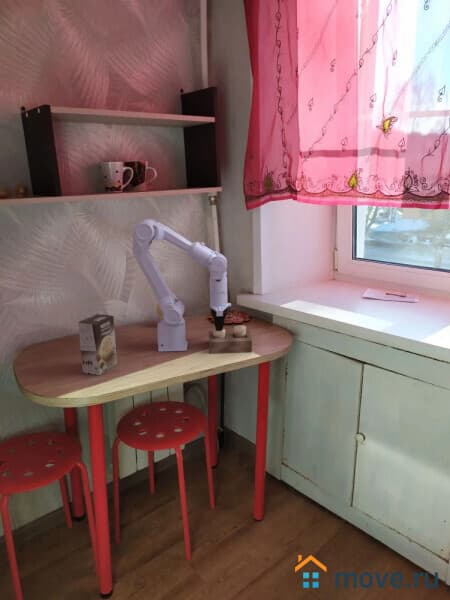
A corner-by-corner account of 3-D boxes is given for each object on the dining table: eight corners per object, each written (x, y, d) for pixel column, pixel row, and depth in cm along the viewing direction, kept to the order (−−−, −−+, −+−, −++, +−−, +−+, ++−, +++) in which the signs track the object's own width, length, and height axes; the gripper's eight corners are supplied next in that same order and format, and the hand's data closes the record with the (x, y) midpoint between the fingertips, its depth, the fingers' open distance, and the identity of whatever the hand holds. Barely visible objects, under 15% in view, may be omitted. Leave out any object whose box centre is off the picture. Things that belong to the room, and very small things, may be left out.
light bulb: (154, 328, 178) (152, 302, 175) (163, 323, 183) (162, 298, 181) (167, 330, 175) (166, 305, 172) (177, 325, 181) (176, 300, 178)
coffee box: (100, 376, 137) (95, 324, 132) (82, 373, 139) (77, 322, 135) (117, 364, 145) (113, 315, 141) (100, 361, 147) (96, 313, 143)
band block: (209, 353, 153) (209, 342, 152) (209, 341, 163) (208, 330, 162) (251, 352, 153) (251, 340, 152) (248, 340, 164) (248, 329, 163)
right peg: (234, 339, 155) (234, 329, 154) (233, 335, 159) (233, 325, 158) (246, 338, 156) (246, 328, 155) (245, 334, 159) (245, 325, 158)
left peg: (213, 342, 155) (213, 332, 154) (213, 338, 159) (213, 328, 158) (225, 341, 155) (225, 332, 155) (224, 337, 159) (224, 328, 158)
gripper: (232, 296, 146) (232, 337, 150) (229, 285, 160) (229, 323, 164) (209, 297, 146) (210, 338, 149) (209, 286, 160) (209, 323, 163)
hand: (219, 330), depth 156 cm, fingers closed, pressing on left peg
